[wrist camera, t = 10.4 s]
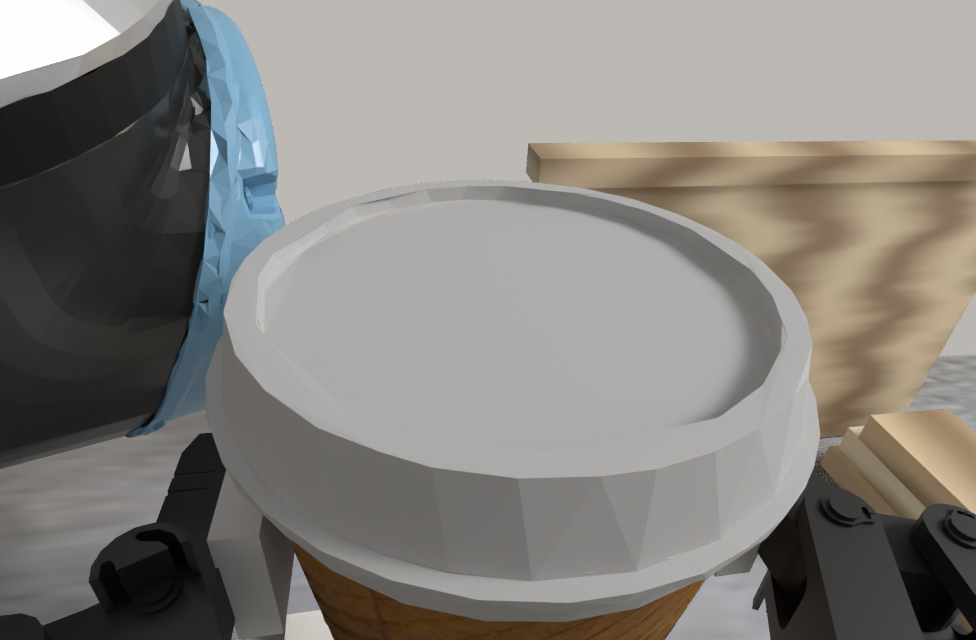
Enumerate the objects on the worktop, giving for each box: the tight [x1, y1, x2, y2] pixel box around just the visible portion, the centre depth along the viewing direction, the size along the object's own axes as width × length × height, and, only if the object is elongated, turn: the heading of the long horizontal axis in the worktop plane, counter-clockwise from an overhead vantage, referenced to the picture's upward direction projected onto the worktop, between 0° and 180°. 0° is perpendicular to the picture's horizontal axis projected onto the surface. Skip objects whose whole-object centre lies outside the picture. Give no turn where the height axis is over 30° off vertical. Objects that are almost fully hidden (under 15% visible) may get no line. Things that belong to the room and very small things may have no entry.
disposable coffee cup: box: [206, 180, 820, 640], centre depth 12 cm, size 10×10×12 cm
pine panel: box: [526, 141, 976, 438], centre depth 30 cm, size 25×2×17 cm, turn 100°
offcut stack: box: [820, 409, 976, 633], centre depth 28 cm, size 6×10×5 cm, turn 9°
